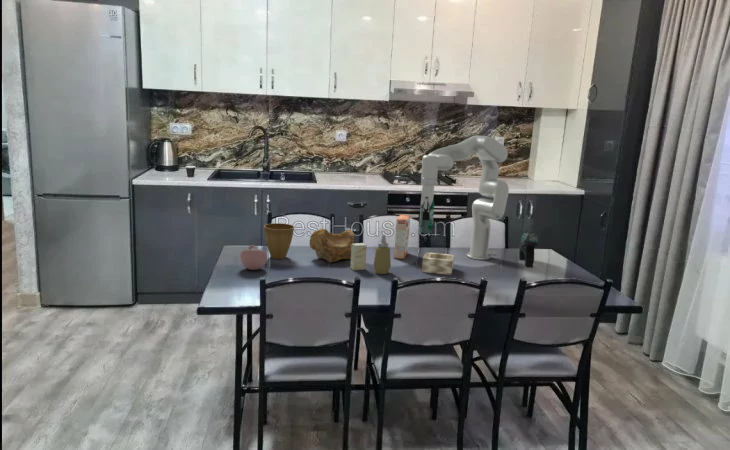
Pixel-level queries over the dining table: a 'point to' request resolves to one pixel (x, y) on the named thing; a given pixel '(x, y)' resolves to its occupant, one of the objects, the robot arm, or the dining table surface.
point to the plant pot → (278, 239)
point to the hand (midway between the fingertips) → (426, 218)
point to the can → (426, 225)
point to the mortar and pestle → (253, 258)
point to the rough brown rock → (332, 245)
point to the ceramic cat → (528, 248)
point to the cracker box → (402, 236)
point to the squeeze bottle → (382, 257)
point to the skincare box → (358, 256)
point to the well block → (438, 263)
